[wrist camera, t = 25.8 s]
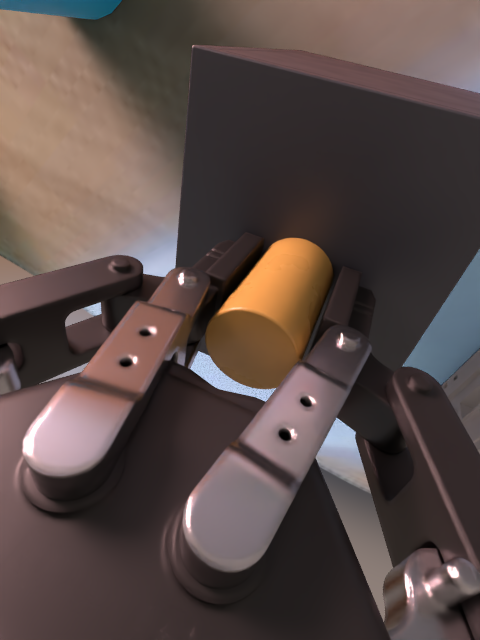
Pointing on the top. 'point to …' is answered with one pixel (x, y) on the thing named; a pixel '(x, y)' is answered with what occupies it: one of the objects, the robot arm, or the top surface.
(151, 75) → the top surface
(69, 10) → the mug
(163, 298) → the robot arm
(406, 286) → the cover
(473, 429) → the cassette
